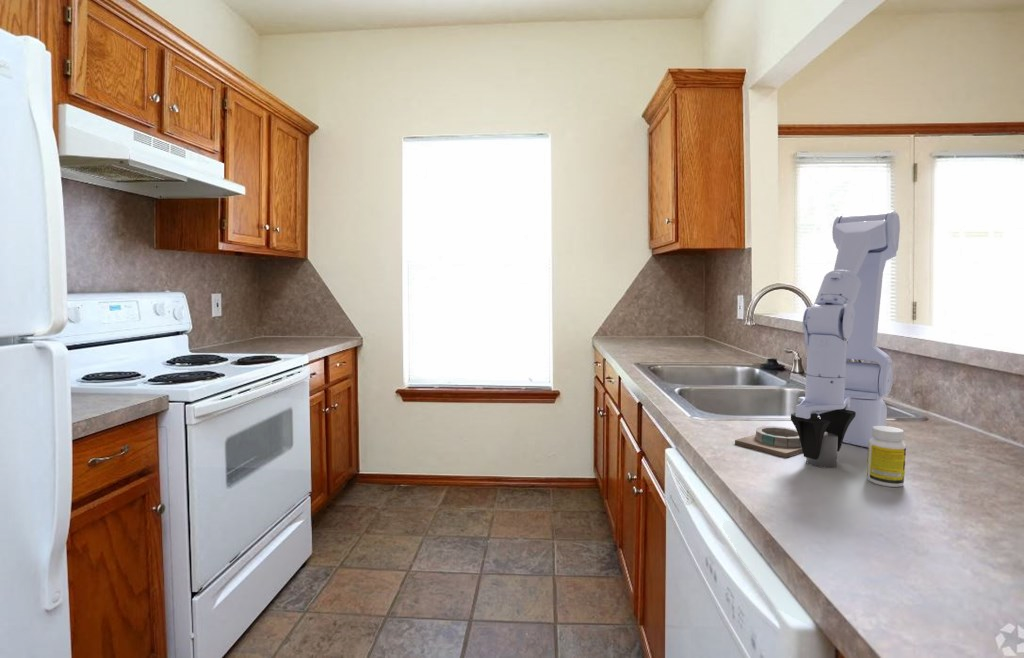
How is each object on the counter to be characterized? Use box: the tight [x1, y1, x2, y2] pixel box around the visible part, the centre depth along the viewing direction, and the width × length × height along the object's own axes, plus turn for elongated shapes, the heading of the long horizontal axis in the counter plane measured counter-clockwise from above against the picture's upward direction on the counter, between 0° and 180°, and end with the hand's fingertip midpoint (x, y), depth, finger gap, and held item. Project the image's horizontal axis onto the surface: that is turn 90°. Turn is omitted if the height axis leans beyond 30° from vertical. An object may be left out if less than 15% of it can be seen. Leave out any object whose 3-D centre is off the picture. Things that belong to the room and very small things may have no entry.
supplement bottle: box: [866, 425, 907, 488], centre depth 83 cm, size 5×5×8 cm
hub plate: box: [734, 425, 803, 458], centre depth 103 cm, size 14×10×2 cm
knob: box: [805, 432, 838, 469], centre depth 92 cm, size 4×4×5 cm
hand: (821, 454), depth 92 cm, fingers open, 7 cm apart
